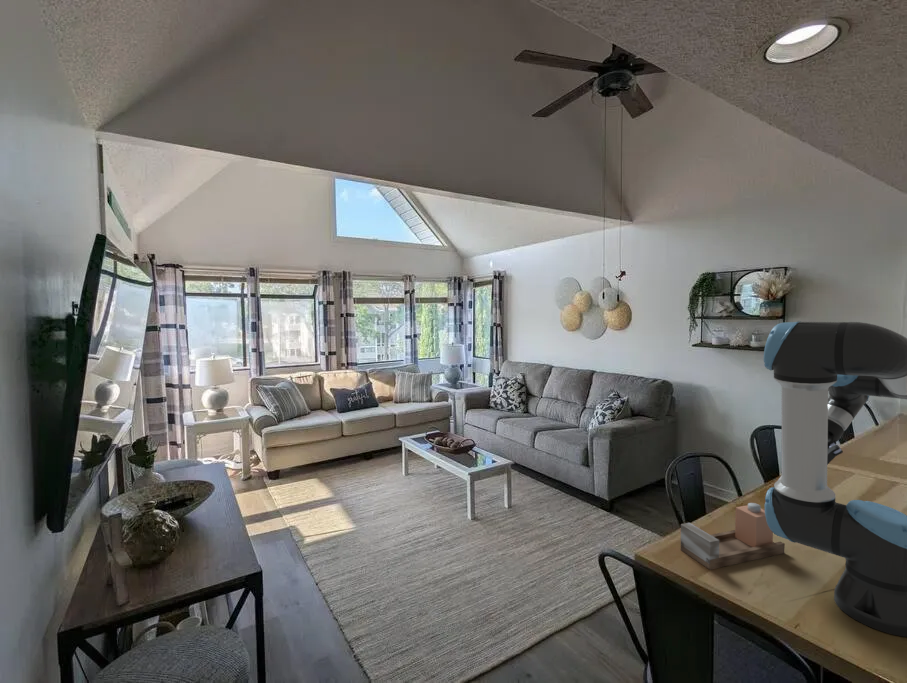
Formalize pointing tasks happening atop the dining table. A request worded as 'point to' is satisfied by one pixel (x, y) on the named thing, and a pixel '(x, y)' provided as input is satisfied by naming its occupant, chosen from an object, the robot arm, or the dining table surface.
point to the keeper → (752, 525)
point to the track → (722, 547)
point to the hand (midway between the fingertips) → (784, 486)
